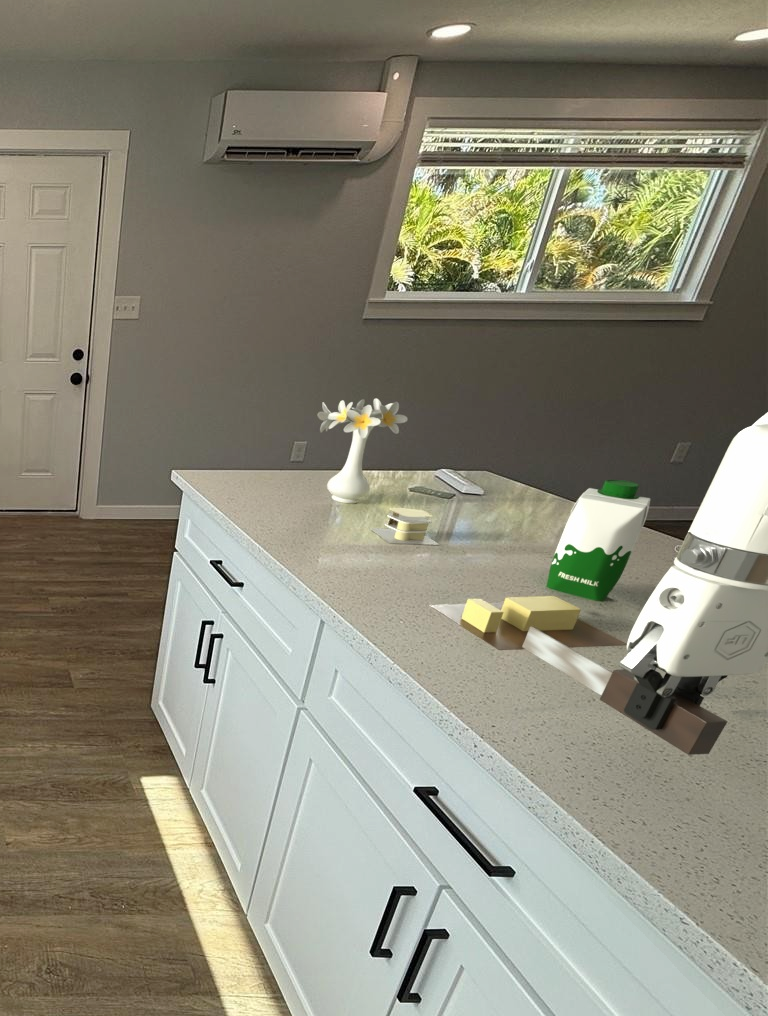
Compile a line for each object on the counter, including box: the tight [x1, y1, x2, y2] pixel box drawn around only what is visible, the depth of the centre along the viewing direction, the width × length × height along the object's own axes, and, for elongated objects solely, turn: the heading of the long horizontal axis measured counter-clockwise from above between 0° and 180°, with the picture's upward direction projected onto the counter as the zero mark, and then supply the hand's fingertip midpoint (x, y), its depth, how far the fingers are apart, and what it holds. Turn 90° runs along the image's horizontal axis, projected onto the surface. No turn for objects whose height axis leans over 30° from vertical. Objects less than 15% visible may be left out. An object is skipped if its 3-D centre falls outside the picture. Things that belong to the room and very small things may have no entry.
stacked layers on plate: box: [369, 507, 441, 546], centre depth 135 cm, size 10×9×6 cm
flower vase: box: [317, 397, 409, 504], centre depth 154 cm, size 13×18×25 cm
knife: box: [522, 627, 728, 756], centre depth 71 cm, size 20×2×4 cm, turn 4°
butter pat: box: [462, 598, 504, 633], centre depth 97 cm, size 2×4×4 cm, turn 3°
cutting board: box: [428, 601, 627, 651], centre depth 98 cm, size 20×14×2 cm
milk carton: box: [545, 479, 651, 602], centre depth 106 cm, size 9×9×20 cm
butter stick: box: [501, 595, 582, 631], centre depth 98 cm, size 8×4×4 cm, turn 93°
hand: (654, 719), depth 66 cm, fingers closed on knife, 2 cm apart
